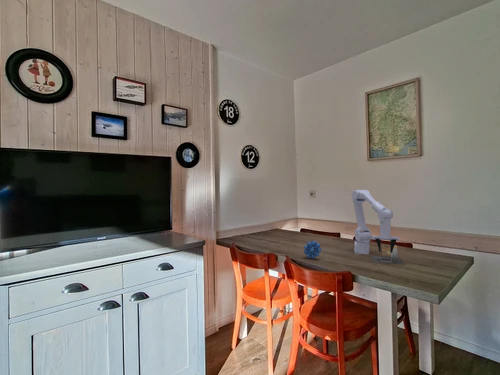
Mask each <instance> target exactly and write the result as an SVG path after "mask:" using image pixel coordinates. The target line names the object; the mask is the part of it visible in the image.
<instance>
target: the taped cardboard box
mask: <svg viewBox="0 0 500 375" xmlns="http://www.w3.org/2000/svg"><path fill="white" fill-rule="evenodd" d="M390 247H391V246H389V245H381V252H380V253H381V256H388V257H391V252H390Z"/></svg>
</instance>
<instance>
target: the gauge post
mask: <svg viewBox="0 0 500 375" xmlns="http://www.w3.org/2000/svg"><path fill="white" fill-rule="evenodd" d="M397 257H398V245H396V244H395V245H394V248H393V251H392V253H391V252H390V259H393V260H394V259H395V260H396V259H398V258H397Z"/></svg>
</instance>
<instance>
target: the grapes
mask: <svg viewBox="0 0 500 375" xmlns="http://www.w3.org/2000/svg"><path fill="white" fill-rule="evenodd" d="M320 252H322V247H321V243H320V242H317V241H316V240H312V241H307V243H306V244H305V245H304V246H303V254H304V255H305V256H306V258H307V259H309V258H311V260H314V259H315V258H316V257H318V258H319V257H320Z"/></svg>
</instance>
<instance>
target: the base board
mask: <svg viewBox="0 0 500 375" xmlns="http://www.w3.org/2000/svg"><path fill="white" fill-rule="evenodd" d="M370 256H371V258H372V261H373V262H374V263H376V264H377V263H378V264H387V265H390V264H391V265H405V264H404V262H403V261H402V260H401V259H400V257H399V256H397V259H392V258H391V257H390V256H385V255H381V256H380V255H378V256H375V255H370Z"/></svg>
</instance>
